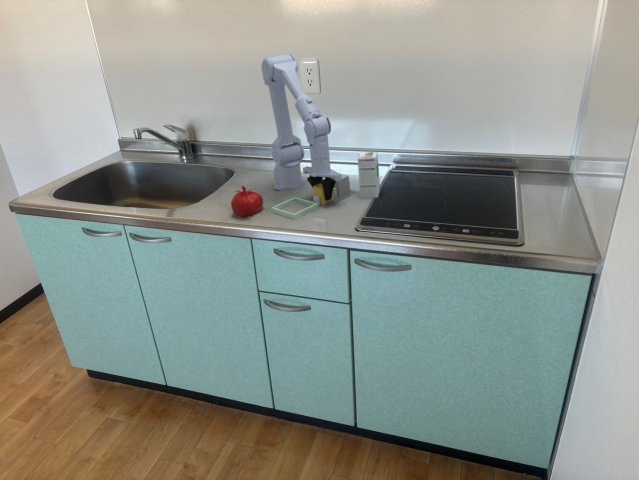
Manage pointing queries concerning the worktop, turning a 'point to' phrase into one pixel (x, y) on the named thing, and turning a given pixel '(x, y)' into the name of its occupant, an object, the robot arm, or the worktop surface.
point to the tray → (294, 216)
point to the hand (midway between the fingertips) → (323, 198)
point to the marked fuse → (320, 193)
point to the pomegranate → (246, 203)
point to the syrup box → (368, 175)
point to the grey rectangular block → (342, 185)
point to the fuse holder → (335, 198)
